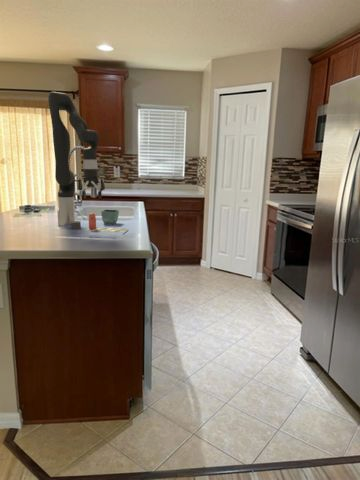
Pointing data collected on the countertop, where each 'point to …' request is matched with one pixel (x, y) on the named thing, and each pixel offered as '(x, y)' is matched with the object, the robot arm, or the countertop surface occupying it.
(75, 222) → the die
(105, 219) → the flower pot
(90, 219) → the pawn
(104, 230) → the board
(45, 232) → the countertop surface
